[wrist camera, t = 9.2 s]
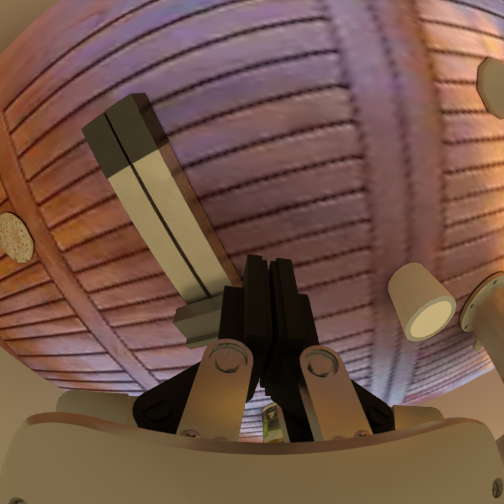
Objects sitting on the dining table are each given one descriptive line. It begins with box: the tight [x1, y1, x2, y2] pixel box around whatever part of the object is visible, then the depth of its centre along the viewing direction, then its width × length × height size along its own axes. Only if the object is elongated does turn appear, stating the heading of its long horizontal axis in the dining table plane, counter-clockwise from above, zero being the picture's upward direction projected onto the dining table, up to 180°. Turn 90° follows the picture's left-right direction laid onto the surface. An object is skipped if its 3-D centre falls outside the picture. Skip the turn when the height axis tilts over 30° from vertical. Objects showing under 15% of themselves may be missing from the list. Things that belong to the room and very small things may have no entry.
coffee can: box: [262, 402, 284, 443], centre depth 41 cm, size 10×10×14 cm
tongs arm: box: [105, 93, 243, 297], centre depth 23 cm, size 24×2×3 cm, turn 22°
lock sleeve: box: [173, 295, 223, 349], centre depth 26 cm, size 4×7×3 cm, turn 112°
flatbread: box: [0, 212, 34, 263], centre depth 25 cm, size 8×8×1 cm
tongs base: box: [81, 112, 213, 305], centre depth 25 cm, size 29×4×3 cm, turn 22°
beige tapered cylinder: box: [388, 263, 456, 342], centre depth 27 cm, size 7×7×7 cm
